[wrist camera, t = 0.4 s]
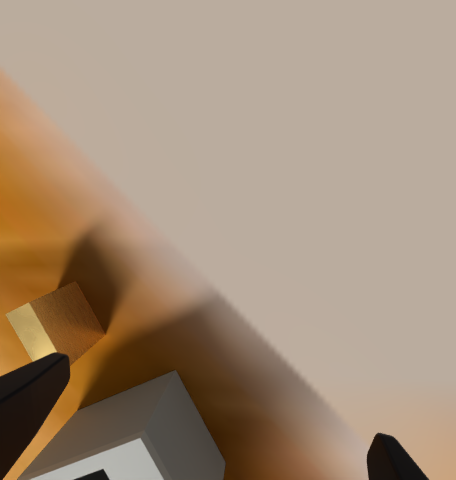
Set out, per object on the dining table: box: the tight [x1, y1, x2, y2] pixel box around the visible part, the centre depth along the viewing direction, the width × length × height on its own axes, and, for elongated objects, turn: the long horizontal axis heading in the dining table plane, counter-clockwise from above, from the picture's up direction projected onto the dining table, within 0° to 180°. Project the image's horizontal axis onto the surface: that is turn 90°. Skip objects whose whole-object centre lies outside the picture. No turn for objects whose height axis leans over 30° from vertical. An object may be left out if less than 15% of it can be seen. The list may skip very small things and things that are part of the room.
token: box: [6, 281, 106, 366], centre depth 23 cm, size 2×5×5 cm, turn 27°
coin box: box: [17, 370, 226, 480], centre depth 23 cm, size 10×9×7 cm
